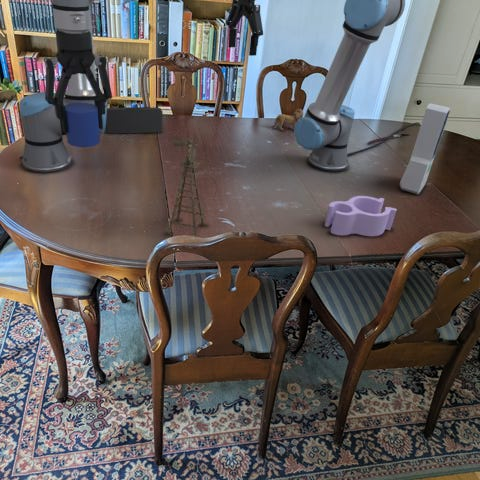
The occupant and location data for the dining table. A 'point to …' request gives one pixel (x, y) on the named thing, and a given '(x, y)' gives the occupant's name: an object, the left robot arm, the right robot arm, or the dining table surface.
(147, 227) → the dining table surface
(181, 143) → the miniature windmill
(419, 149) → the electronic device
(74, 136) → the can
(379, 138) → the sword
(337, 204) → the clip
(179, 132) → the dining table surface
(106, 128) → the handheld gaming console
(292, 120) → the lion figurine
